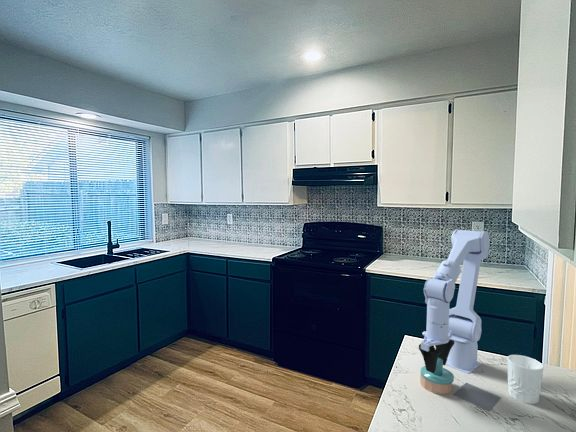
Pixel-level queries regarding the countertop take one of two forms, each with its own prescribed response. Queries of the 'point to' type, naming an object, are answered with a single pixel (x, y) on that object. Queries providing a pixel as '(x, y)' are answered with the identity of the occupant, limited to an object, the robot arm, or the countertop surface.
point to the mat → (477, 396)
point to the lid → (438, 374)
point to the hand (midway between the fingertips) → (436, 367)
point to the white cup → (524, 378)
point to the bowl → (435, 386)
